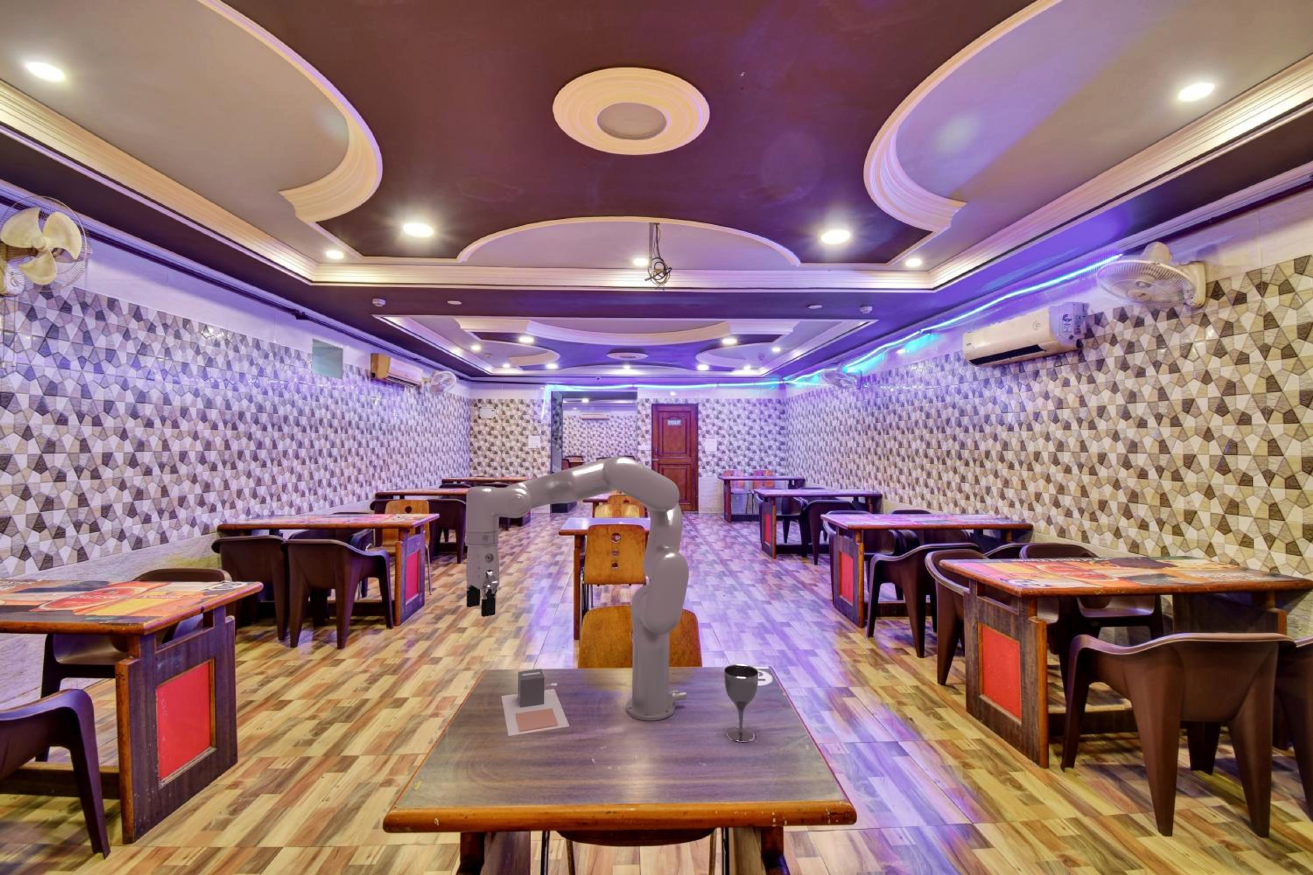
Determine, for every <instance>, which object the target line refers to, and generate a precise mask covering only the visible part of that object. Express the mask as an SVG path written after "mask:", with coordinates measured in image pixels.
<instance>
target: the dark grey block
mask: <svg viewBox="0 0 1313 875" xmlns="http://www.w3.org/2000/svg"><path fill="white" fill-rule="evenodd" d="M517 677H518V678H517V694H518V701H519V705H520V708H521V707H528V706H535V705H542V704H544V690H545V676H544V672H543V670H542V668H538V669H530V670H521V671H518V672H517Z"/></svg>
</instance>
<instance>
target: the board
mask: <svg viewBox="0 0 1313 875" xmlns="http://www.w3.org/2000/svg"><path fill="white" fill-rule="evenodd" d="M501 701H502V707H503V712H504V714H503V715H504V719H505V724H506V730H507V736H508V737H511V736H517V735H518V736H519V735H523V734H525V735H526V734H530V733H537V732H543V731H548V730H549V731H550V730H556V729H562V728H563V729H564V728H568V727H570V724H569V721H568V719H567V717H566V715H565V712H564V710H563V707H562V705H561V702H560V699H559V697H558V695H557V692H556V690H555V688H550V689H544V704H542V705H535V706H528V707H521V708H520V705H519V701H518V693H513V694H512V693H511V694H506V695H505V694H504V695H501Z"/></svg>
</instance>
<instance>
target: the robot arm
mask: <svg viewBox="0 0 1313 875" xmlns="http://www.w3.org/2000/svg"><path fill="white" fill-rule="evenodd" d="M615 491H618V492H620V493H622V494H624V495H625V496H628V497H630V498H631V499H633V500H635V501H637V502H639V503H641V505H642V506H643V507H645V508H646V509H647V511H648V514H649V519H650V522H649V524H650V525H649V532H648V537H647V542H646V546H645V551H644V552H645V553H644V556H643V561H642V569H643V572H644V574H645V575H646V577H647V578H649V579H650V582H649V584H646V585H642V586H640V587H639V588H638V589H637V590H636V591H635V592H634V593H633V596H632V599H631V602H630V614H631V623H632V624H631V625H632V627H631V628H632V671H631V672H632V681H631V682H632V684H631V686H632V687H631V690H632V691H631V698H630V699H629V700H628V701H627V702H626V705H625V710H626V711H625V712H626V713H627V714H628V715H629V716H630V717H633V718H634V719H638V720H640V721H641V720H643V721H661V720H664V719H666V718H668V717H671V716H672V715H673V714H674V713H675V712H676V711H675V710H676V706H675V703H676V701H684V700H687V697H688V695H687V692H686V691H679V689H672V690H670V633H671V632H672V631H673V630H675V629H676V628H677V626H678V624H679V622H680V620H681V617H682V614H683V609H684V604H685V600H686V599H685V598H686V594H687V589H688V584H689V583H688V582H689V577H690V571H689V564H688V561H687V559H686V558H685V556H684V555H683V554H681V553H680V546H681V541H682V534H683V526H684V523H683V522H684V521H683V513H682V509H681V506H680V504H679V501H680V491H679V488H678V485H677V484H676V483H675V482H674V481H672V480H671V479H670V478H668V477H666V476H664V475H662V474H660V473H658V472H657V471H655V470H653V469H651V468H649V467H648V466H646V465H644V464H642V463H640V462H638V461H636V460H635V459H633V458H631V457H628V456H621V455H620V456H619V455H618V456H617V455H615V456H612V457H607V458H604V459H600V460H596V461H593V462H589V463H585V464H581V465H578V466H574V467H568V468H566V469H563V470H559V471H556V472H554V473H550V474H546V475H543V476H539V477H535V478H531V479H527V480H524V481H520V482H519V481H518V482H516V483H512V484H509V485H507V486H506V487H500V488H497V487H495V486H481V485H480V486H472V487H470V488H468V490H467V492H466V500H465V501H466V503H465V504H466V505H465V506H466V507H465V543H464V544H465V545H464V546H466V547H467V552H466V562H465V563H466V566H465V568H466V570H465V578H466V581H465V582H466V603H465V604H466V607H467V608H472V607H473V608H474V607H479V606H481V607H480V616H481V617H482V618H484V617H490V616H494V615H496V608H497V607H496V605H497V604H496V603H497V601H496V600H497V592H498V588H499V586H500V556H499V548H498V545H499V533H500V531H499V528H500V527H499V525H500V524H499V522H500V517H503V518H511V519H517V518H518V519H519V518H522V517H524V516H526V515H527V514H528V513H529V512H530V511H531V510H532V509H536V508H539V507H543V506H548V505H553V504H560V503H564V504H568V503H569V504H570V503H576V502H579V501H583V500H586V499H590V498H594V497H597V496H600V495H603V494H607V493H612V492H615ZM481 596H482V598H481Z"/></svg>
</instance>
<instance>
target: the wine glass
mask: <svg viewBox="0 0 1313 875" xmlns="http://www.w3.org/2000/svg"><path fill="white" fill-rule="evenodd" d="M723 671H724V674H723V677H724V682H723V683H724V688H725V692H726V695H727V697H728V698H729V699H730V701H731V702H732V703H733V704H734V705H735V707H736V710H737V712H738V721H739V723H738V727H739V728H736V727H731V728H732V729H731V728H728V729H727V730H726V732H727V731H728V732H727V734H728V736H729V737H730V738H731V739H733V741H732V742H734V741H749V739H752V738H753V733H752V732H751V731H752V730H751V729H749V728H746V727H743V720H744V712H745V710H746V707H747V706H748V705H749V704H751V702H752V701H753V700H754V699H755V698H756V694H757V691H758V684H759V671H758V669H757V668H756V667H754V666H752V665H747V664H740V663H738V664H729V665H727V666H725V668H724V669H723ZM745 728H746V729H745ZM748 729H749V730H748ZM750 730H751V731H750Z"/></svg>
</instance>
